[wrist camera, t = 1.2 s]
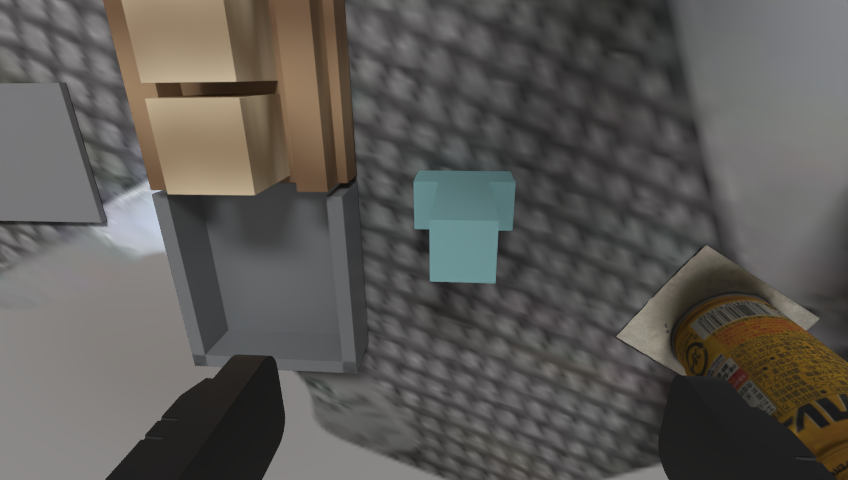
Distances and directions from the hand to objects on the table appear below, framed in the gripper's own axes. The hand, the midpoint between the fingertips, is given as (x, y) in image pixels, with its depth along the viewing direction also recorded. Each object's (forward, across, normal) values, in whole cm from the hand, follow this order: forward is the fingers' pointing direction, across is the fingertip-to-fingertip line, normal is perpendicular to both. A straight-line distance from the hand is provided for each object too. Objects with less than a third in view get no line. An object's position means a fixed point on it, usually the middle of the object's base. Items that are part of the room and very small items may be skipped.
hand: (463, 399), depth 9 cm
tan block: (+14, +11, -4) cm, 18 cm away
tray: (+16, +11, +4) cm, 20 cm away
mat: (+16, +26, -2) cm, 31 cm away
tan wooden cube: (+14, +11, -8) cm, 20 cm away
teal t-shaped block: (+16, 0, 0) cm, 16 cm away
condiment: (+16, -15, +8) cm, 24 cm away
